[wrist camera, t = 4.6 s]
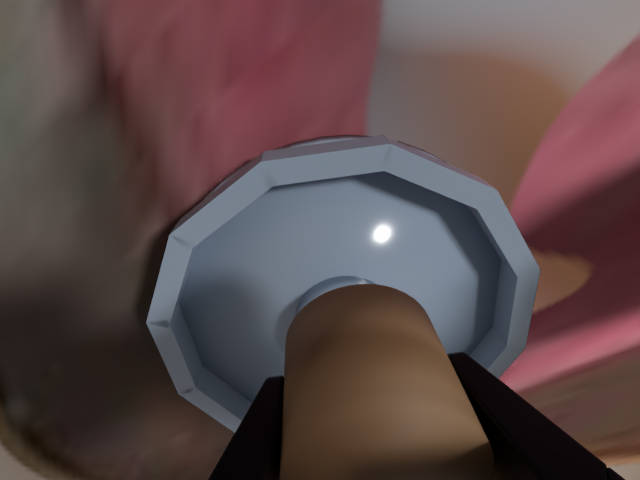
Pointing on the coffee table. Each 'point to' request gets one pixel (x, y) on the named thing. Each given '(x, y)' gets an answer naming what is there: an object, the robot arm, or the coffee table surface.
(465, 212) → the groove tray
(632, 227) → the coffee table surface
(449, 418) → the bead
